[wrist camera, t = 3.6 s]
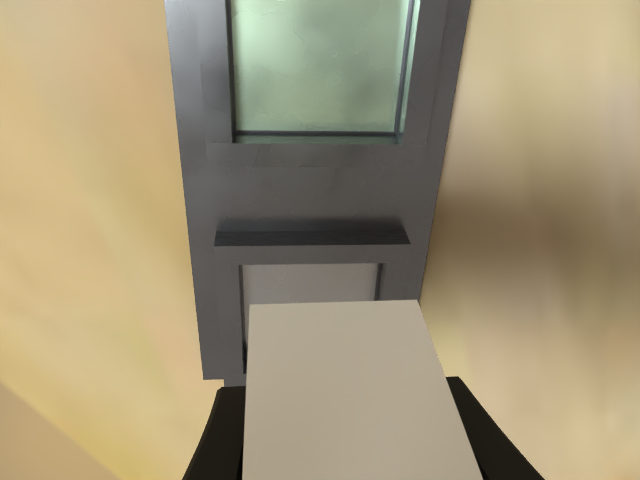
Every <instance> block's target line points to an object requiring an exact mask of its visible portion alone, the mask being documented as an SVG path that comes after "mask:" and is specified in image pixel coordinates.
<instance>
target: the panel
mask: <svg viewBox="0 0 640 480" xmlns="http://www.w3.org/2000/svg"><path fill="white" fill-rule="evenodd" d="M470 2H471V0H164V4H165V14H166V24H167V33H168V43H169V52H170V62H171V72H172V81H173V91H174V101H175V110H176V120H177V129H178V139H179V149H180V158H181V168H182V178H183V187H184V197H185V206H186V216H187V226H188V235H189V245H190V255H191V264H192V274H193V283H194V293H195V303H196V312H197V322H198V332H199V341H200V351H201V361H202V370H203V380H212V379H224V387H232V386H246V379H247V356H248V333H249V310H250V305H252V304H287V303H321V302H356V301H390V300H417V301H418V303H419V298H420V292H421V286H422V280H423V274H424V269H425V263H426V257H427V251H428V245H429V240H430V234H431V228H432V222H433V216H434V211H435V205H436V199H437V193H438V187H439V182H440V176H441V170H442V164H443V158H444V153H445V147H446V141H447V135H448V129H449V123H450V118H451V112H452V106H453V100H454V94H455V89H456V83H457V77H458V71H459V65H460V60H461V54H462V48H463V42H464V36H465V31H466V25H467V19H468V13H469V7H470Z"/></svg>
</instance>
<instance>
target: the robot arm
mask: <svg viewBox="0 0 640 480" xmlns="http://www.w3.org/2000/svg"><path fill="white" fill-rule="evenodd" d="M446 380H447V383H448V385H449V388H450V391H451V393H452V396H453V399H454V402H455V404H456V407H457V410H458V412H459V415H460V418H461V421H462V423H463V426H464V429H465V432H466V434H467V437H468V440H469V442H470V445H471V448H472V451H473V453H474V456H475V459H476V461H477V464H478V467H479V470H480V472H481V475H482V478H483V480H545V479H544V478H543V477H542V476H541V475H540V474H539V473H538V472H537V471H536V470H535V468H534V467H533V466H532V465H531V464H530V463H529V462H528V461H527V460H526V458H525V457H524V456H523V455H522V454H521V453H520V451H519V450H518V449H517V448H516V447H515V446H514V445H513V443H512V442H511V441H510V440H509V439H508V438H507V436H506V435H505V434H504V433H503V432H502V430H501V429H500V428H499V427H498V426H497V424H496V423H495V422H494V421H493V419H492V418H491V417H490V416H489V414H488V413H487V412H486V411H485V409H484V408H483V407H482V406H481V404H480V403H479V402H478V400H477V399H476V398H475V397H474V395H473V394H472V393H471V391H470V390H469V389H468V387H467V386H466V385H465V384H464V382H463V381H462V380H461V379H460V378H459V377H458V376H457V377H446ZM245 402H246V386H232V387H221V388H220V389H219V390H218V391H217V393H216V397H215V401H214V404H213V407H212V410H211V413H210V416H209V419H208V422H207V424H206V427H205V429H204V432H203V434H202V437H201V439H200V442H199V444H198V446H197V449H196V451H195V453H194V455H193V457H192V459H191V462H190V464H189V466H188V468H187V470H186V473H185V475H184V477H183V479H182V480H242V472H243V448H244V425H245Z"/></svg>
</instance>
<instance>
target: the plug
mask: <svg viewBox="0 0 640 480" xmlns="http://www.w3.org/2000/svg"><path fill="white" fill-rule="evenodd" d="M242 480H483V478H482V475H481V472H480V470H479V467H478V464H477V461H476V459H475V456H474V453H473V451H472V448H471V445H470V442H469V440H468V437H467V434H466V432H465V429H464V426H463V423H462V421H461V418H460V415H459V412H458V410H457V407H456V404H455V402H454V399H453V396H452V393H451V391H450V388H449V385H448V383H447V380H446V377H445V374H444V372H443V369H442V366H441V363H440V361H439V358H438V355H437V353H436V350H435V347H434V344H433V342H432V339H431V336H430V334H429V331H428V328H427V325H426V323H425V320H424V317H423V315H422V312H421V309H420V306H419V304H418V301H417V300H390V301H356V302H321V303H287V304H252V305H250V310H249V333H248V356H247V379H246V402H245V425H244V448H243V472H242Z"/></svg>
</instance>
